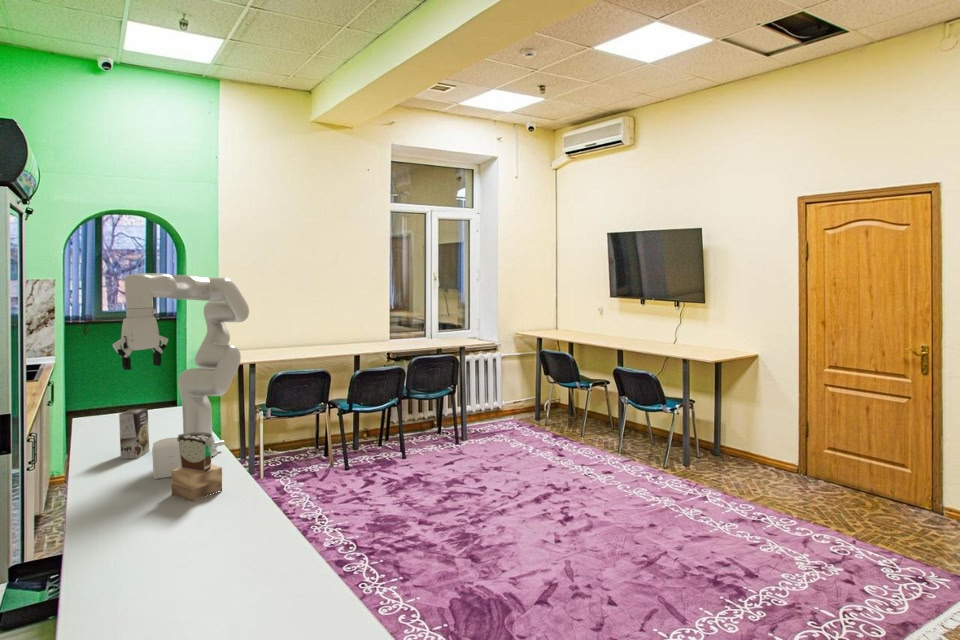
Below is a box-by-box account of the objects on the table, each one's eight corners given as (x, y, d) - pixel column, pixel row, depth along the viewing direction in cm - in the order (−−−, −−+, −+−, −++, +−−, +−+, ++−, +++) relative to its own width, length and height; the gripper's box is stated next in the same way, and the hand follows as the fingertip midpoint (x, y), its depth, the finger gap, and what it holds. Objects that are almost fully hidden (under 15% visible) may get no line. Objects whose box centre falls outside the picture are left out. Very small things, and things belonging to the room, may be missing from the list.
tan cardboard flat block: (202, 486, 194) (202, 474, 194) (222, 493, 189) (221, 480, 188) (171, 496, 186) (171, 483, 186) (191, 503, 180) (190, 489, 180)
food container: (224, 466, 189) (223, 434, 188) (208, 472, 183) (207, 439, 182) (194, 461, 194) (193, 430, 193) (177, 467, 188) (176, 434, 187)
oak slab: (203, 474, 194) (203, 461, 194) (222, 480, 188) (221, 467, 188) (172, 483, 186) (171, 470, 186) (190, 489, 180) (190, 476, 180)
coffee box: (138, 458, 222) (137, 413, 221) (120, 458, 222) (118, 414, 220) (150, 451, 231) (148, 408, 230) (132, 451, 231) (130, 408, 230)
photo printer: (154, 480, 199) (152, 442, 198) (152, 476, 202) (151, 439, 201) (189, 474, 204) (188, 437, 204) (187, 471, 208) (186, 434, 207)
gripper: (159, 311, 206) (161, 363, 207) (105, 315, 191) (108, 370, 193) (173, 312, 202) (175, 364, 203) (118, 315, 187) (121, 372, 189)
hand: (142, 367), depth 198 cm, fingers open, 9 cm apart
